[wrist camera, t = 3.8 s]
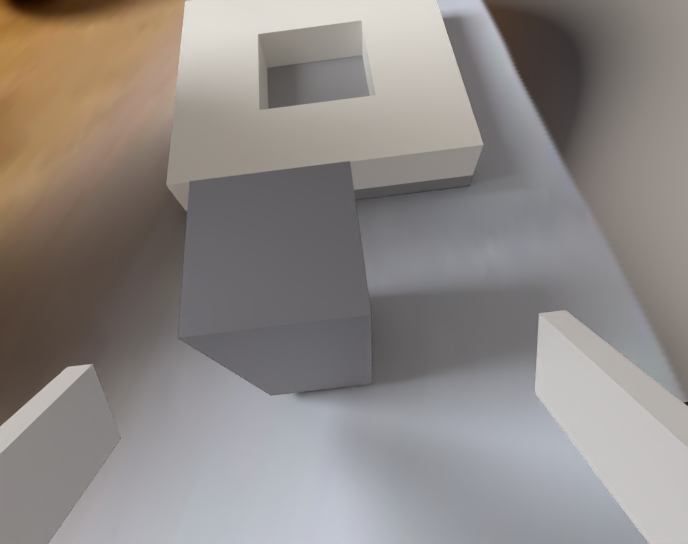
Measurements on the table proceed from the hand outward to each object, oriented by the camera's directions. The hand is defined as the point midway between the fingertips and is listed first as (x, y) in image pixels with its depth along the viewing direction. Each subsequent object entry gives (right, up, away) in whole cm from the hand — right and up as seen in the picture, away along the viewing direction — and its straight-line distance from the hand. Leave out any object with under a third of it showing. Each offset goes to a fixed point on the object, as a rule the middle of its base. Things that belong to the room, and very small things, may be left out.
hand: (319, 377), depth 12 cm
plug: (-1, -1, +9) cm, 9 cm away
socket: (-1, +15, +16) cm, 22 cm away
